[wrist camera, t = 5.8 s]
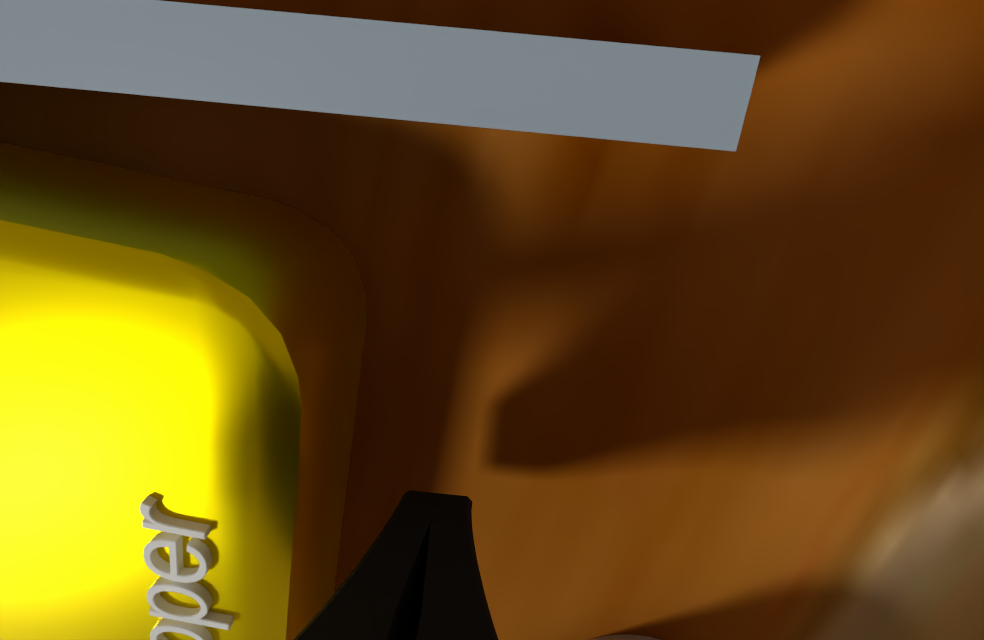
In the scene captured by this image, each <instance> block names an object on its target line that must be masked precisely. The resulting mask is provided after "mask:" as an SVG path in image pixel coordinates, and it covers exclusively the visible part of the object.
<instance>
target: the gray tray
mask: <svg viewBox="0 0 984 640" xmlns="http://www.w3.org/2000/svg"><path fill="white" fill-rule="evenodd" d="M759 60H760V56H759V55H748V54H737V53H726V52H715V51H704V50H693V49H682V48H672V47H661V46H650V45H639V44H628V43H617V42H606V41H595V40H585V39H574V38H563V37H552V36H541V35H530V34H519V33H508V32H498V31H487V30H476V29H465V28H454V27H443V26H432V25H421V24H411V23H400V22H389V21H378V20H367V19H356V18H345V17H334V16H323V15H313V14H302V13H291V12H280V11H269V10H258V9H247V8H236V7H226V6H215V5H204V4H193V3H182V2H171V1H160V0H0V82H9V83H19V84H30V85H40V86H51V87H61V88H72V89H82V90H93V91H104V92H114V93H125V94H135V95H146V96H156V97H167V98H177V99H188V100H198V101H209V102H220V103H230V104H241V105H251V106H262V107H272V108H283V109H293V110H304V111H314V112H325V113H336V114H346V115H357V116H367V117H378V118H388V119H399V120H409V121H420V122H430V123H441V124H452V125H462V126H473V127H483V128H494V129H504V130H515V131H525V132H536V133H547V134H557V135H568V136H578V137H589V138H599V139H610V140H620V141H631V142H641V143H652V144H663V145H673V146H684V147H694V148H705V149H715V150H726V151H736V149H737V145H738V141H739V137H740V134H741V130H742V126H743V122H744V118H745V114H746V110H747V106H748V102H749V99H750V95H751V91H752V87H753V83H754V79H755V75H756V71H757V68H758V64H759Z"/></svg>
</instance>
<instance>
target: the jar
mask: <svg viewBox="0 0 984 640" xmlns="http://www.w3.org/2000/svg"><path fill="white" fill-rule="evenodd" d="M589 640H661V639H657V638H653V637H648V636H641V635H629V634H623V635H608V636H602V637H597V638H592V639H589Z"/></svg>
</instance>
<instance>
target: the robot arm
mask: <svg viewBox="0 0 984 640" xmlns="http://www.w3.org/2000/svg"><path fill="white" fill-rule="evenodd" d="M471 509H472V501H471V500H470V499H469V498H468V497H467V496H458V495H448V494H439V493H429V492H419V491H408V492H407V493H405V494H404V495H403V497H402V499H401V501H400V503H399V505H398V506H397V508H396V510H395V511H394V513H393V515H392V516H391V518H390V519H389V521H388V523H387V524H386V526H385V527H384V529H383V530H382V532H381V533H380V534H379V536H378V537H377V539H376V540H375V542H374V543H373V544H372V546H371V547H370V549H369V550H368V551H367V553H366V554H365V555H364V557H363V558H362V559H361V561H360V562H359V563H358V565H357V566H356V567H355V569H354V570H353V571H352V573H351V574H350V575H349V576H348V578H347V579H346V580H345V581H344V582H343V584H342V585H341V586H340V587H339V588H338V590H337V591H336V592H335V593H334V595H333V596H332V597H331V598H330V599H329V601H328V602H327V603H326V604H325V605H324V607H323V608H322V609H321V610H320V611H319V612H318V613H317V614H316V616H315V617H314V618H313V619H312V620H311V621H310V622H309V623H308V624H307V626H306V627H305V628H304V629H303V630H302V631H301V632H300V633H299V634H298V635H297V636H296V637H295V638H294V639H293V640H498V638H497V635H496V631H495V628H494V625H493V622H492V618H491V615H490V611H489V608H488V605H487V601H486V597H485V593H484V589H483V585H482V580H481V576H480V572H479V567H478V563H477V558H476V552H475V546H474V539H473V531H472V519H471Z"/></svg>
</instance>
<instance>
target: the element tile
mask: <svg viewBox="0 0 984 640" xmlns="http://www.w3.org/2000/svg"><path fill="white" fill-rule="evenodd" d="M366 322H367V309H366V293H365V289H364V286H363V283H362V280H361V277H360V274H359V270H358V267H357V264H356V261H355V259H354V257H353V256H352V255H351V254H350V252H349V251H348V250H347V248H346V247H345V246H344V245H343V243H342V242H341V241H340V239H339V238H338V237H337V235H336V234H335V233H334V232H333V231H332V230H330V229H328V228H327V227H325V226H324V225H322V224H321V223H319V222H318V221H316V220H315V219H313V218H312V217H310V216H309V215H307V214H305V213H304V212H302V211H300V210H298V209H295V208H293V207H290V206H287V205H285V204H282V203H280V202H277V201H274V200H271V199H266V198H261V197H257V196H252V195H247V194H243V193H238V192H233V191H228V190H224V189H219V188H214V187H210V186H205V185H200V184H196V183H191V182H186V181H182V180H177V179H172V178H168V177H163V176H158V175H154V174H149V173H144V172H140V171H135V170H130V169H125V168H121V167H116V166H111V165H107V164H102V163H97V162H93V161H88V160H83V159H79V158H74V157H69V156H65V155H60V154H55V153H51V152H46V151H41V150H37V149H32V148H27V147H22V146H18V145H13V144H8V143H4V142H0V640H293V639H294V638H295V637H296V636H297V635H298V634H299V633H300V632H301V631H302V630H303V629H304V628H305V627H306V626H307V624H308V623H309V622H310V621H311V620H312V619H313V618H314V617H315V616H316V614H317V613H318V612H319V611H320V610H321V609H322V608H323V607H324V605H325V604H326V603H327V602H328V601H329V599H330V598H331V597H332V596H333V595H334V591H335V582H336V574H337V565H338V557H339V549H340V540H341V532H342V523H343V515H344V507H345V498H346V490H347V481H348V473H349V465H350V456H351V448H352V440H353V431H354V423H355V414H356V406H357V398H358V389H359V381H360V372H361V364H362V356H363V347H364V339H365V330H366Z"/></svg>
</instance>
